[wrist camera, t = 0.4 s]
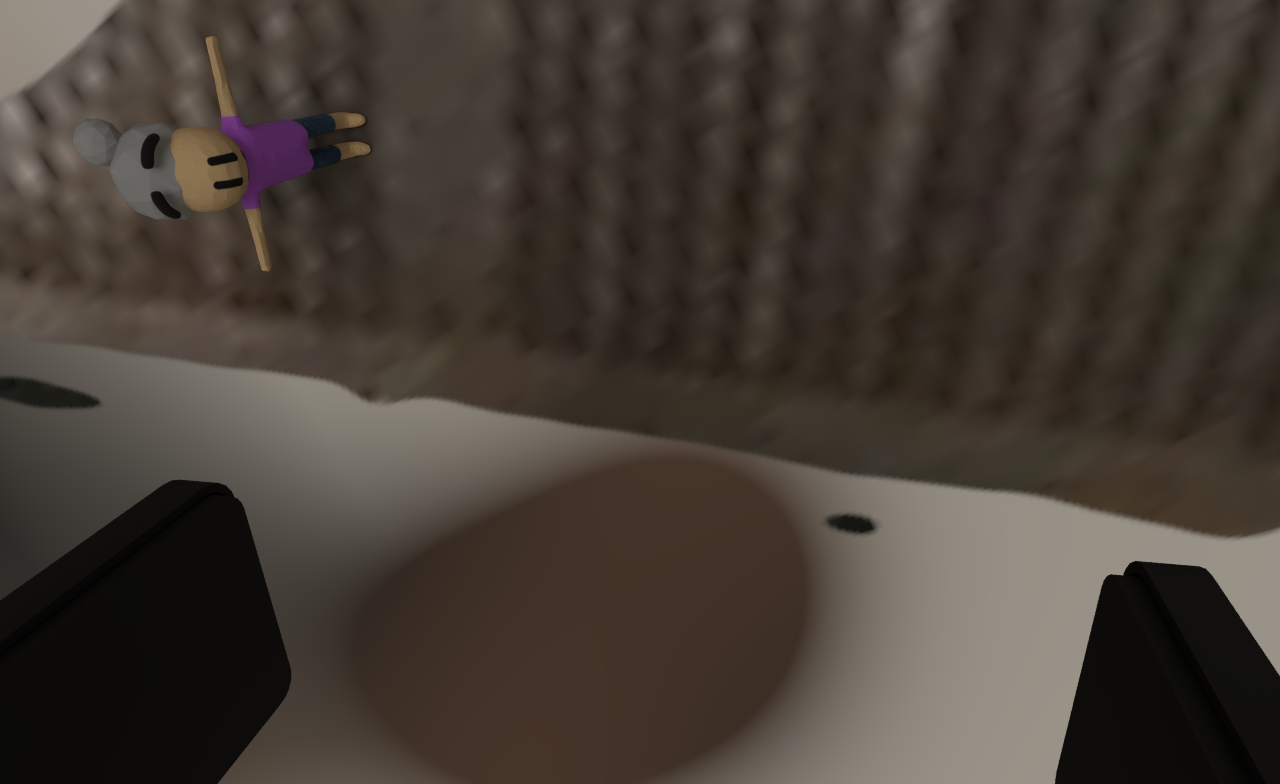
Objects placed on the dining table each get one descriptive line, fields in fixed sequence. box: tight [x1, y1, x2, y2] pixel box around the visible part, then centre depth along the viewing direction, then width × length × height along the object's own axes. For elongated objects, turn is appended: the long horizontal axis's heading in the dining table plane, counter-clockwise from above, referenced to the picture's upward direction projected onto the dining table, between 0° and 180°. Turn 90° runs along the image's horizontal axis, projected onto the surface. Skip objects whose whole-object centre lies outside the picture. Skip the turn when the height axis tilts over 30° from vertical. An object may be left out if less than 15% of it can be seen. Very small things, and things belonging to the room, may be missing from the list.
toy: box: [73, 36, 371, 271], centre depth 39 cm, size 10×6×15 cm, turn 3°
